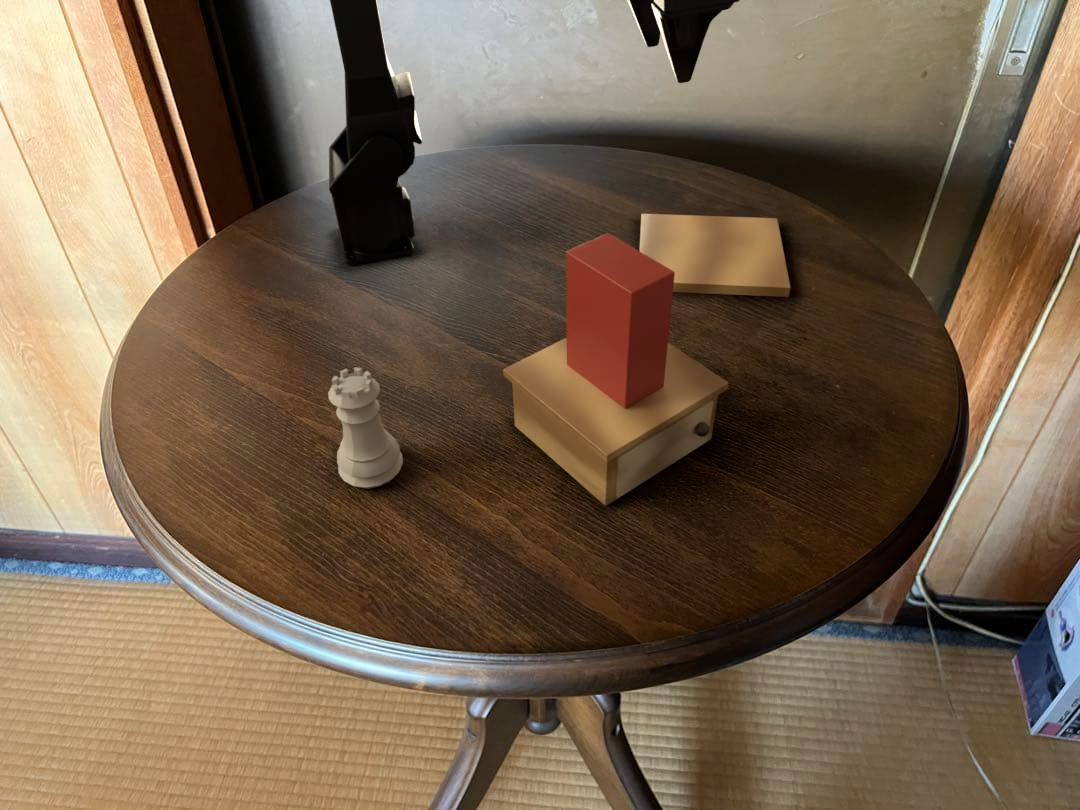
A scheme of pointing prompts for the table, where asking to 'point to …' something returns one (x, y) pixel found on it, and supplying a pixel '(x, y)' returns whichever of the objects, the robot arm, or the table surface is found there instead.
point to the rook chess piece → (363, 432)
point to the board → (718, 253)
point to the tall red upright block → (618, 318)
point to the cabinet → (612, 419)
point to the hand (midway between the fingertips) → (667, 63)
